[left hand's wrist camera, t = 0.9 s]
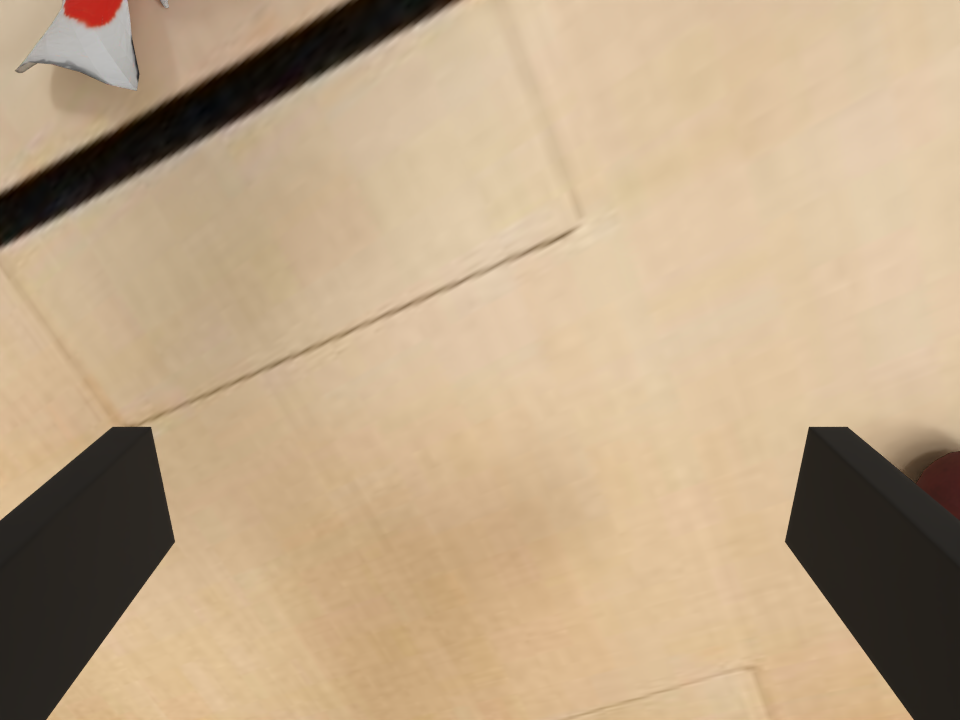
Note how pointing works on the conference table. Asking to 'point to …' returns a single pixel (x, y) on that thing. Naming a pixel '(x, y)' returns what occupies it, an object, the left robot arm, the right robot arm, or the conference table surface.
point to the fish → (91, 42)
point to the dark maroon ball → (943, 482)
